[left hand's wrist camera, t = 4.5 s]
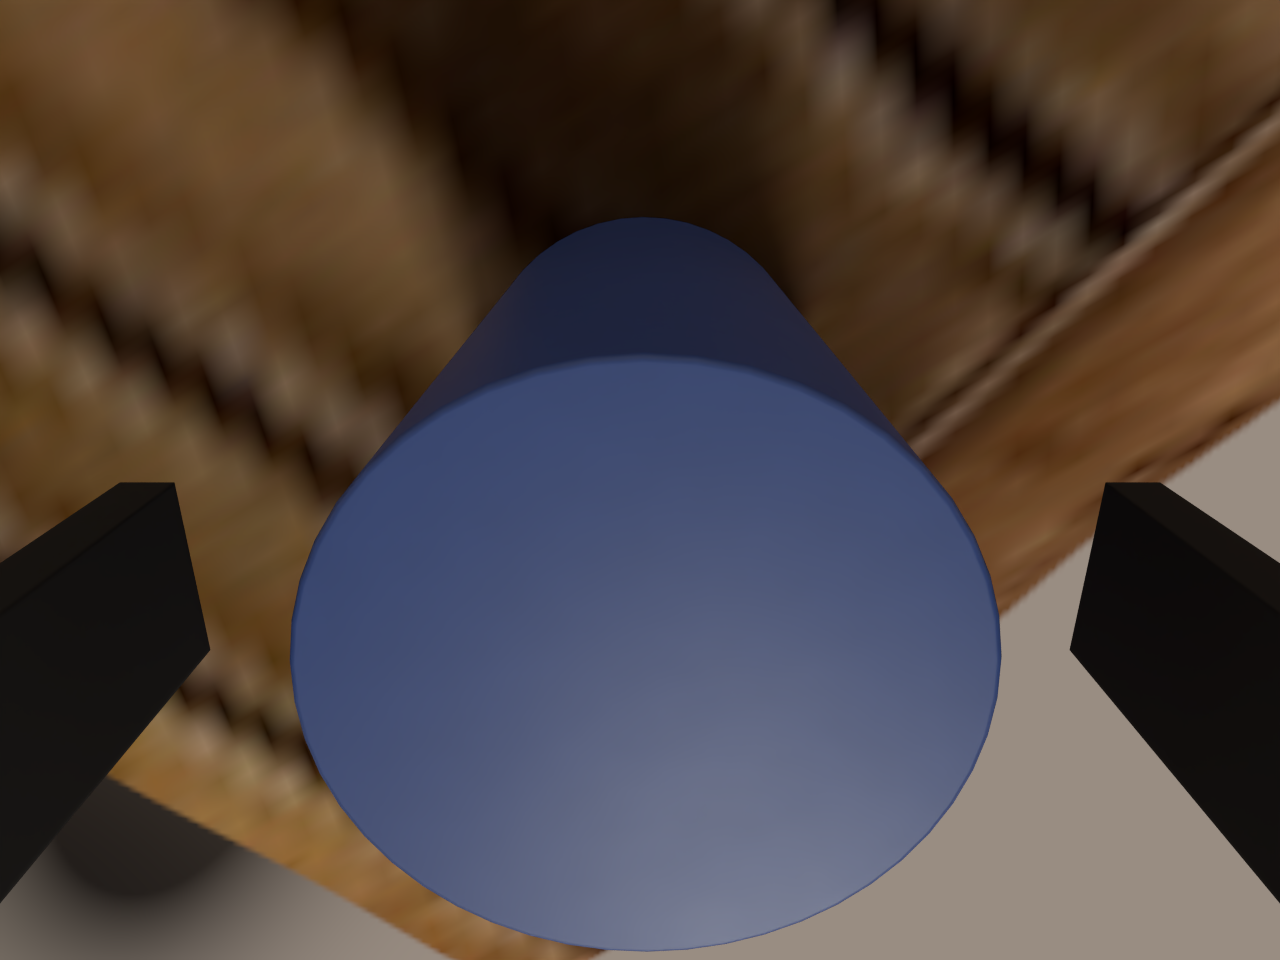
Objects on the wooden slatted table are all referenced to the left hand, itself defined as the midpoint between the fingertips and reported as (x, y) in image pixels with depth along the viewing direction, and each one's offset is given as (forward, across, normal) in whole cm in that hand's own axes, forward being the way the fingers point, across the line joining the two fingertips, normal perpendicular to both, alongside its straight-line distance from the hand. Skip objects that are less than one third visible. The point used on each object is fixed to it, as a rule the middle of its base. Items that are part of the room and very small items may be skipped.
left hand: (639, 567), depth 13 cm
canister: (+9, 0, 0) cm, 9 cm away
